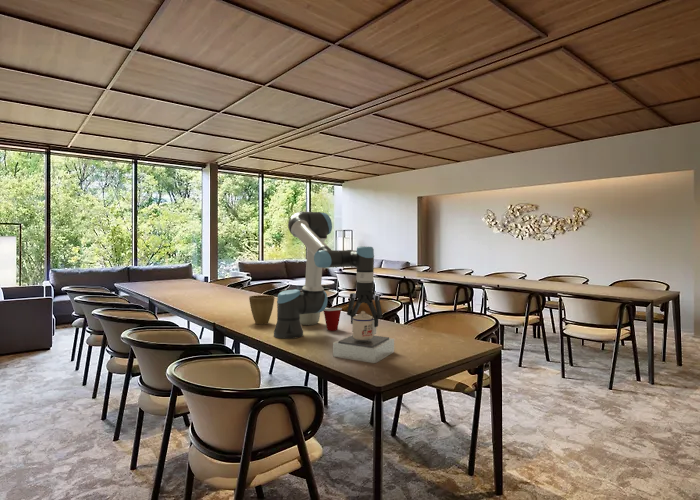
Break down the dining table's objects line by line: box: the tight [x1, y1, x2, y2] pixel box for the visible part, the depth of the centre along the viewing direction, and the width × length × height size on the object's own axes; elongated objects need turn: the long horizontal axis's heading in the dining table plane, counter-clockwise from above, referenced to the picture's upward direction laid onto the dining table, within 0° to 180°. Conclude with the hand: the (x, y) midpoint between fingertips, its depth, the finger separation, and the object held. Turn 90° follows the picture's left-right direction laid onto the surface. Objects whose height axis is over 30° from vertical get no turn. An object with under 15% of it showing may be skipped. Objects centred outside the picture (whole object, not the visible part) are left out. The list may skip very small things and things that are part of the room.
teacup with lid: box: [352, 310, 374, 340], centre depth 186 cm, size 12×9×12 cm
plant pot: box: [248, 294, 275, 325], centre depth 252 cm, size 15×15×16 cm
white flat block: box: [332, 334, 395, 364], centre depth 189 cm, size 20×25×7 cm
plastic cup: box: [322, 307, 343, 332], centre depth 236 cm, size 11×11×12 cm
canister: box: [300, 312, 321, 326], centre depth 252 cm, size 18×18×21 cm
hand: (364, 332), depth 187 cm, fingers closed on teacup with lid, 9 cm apart
